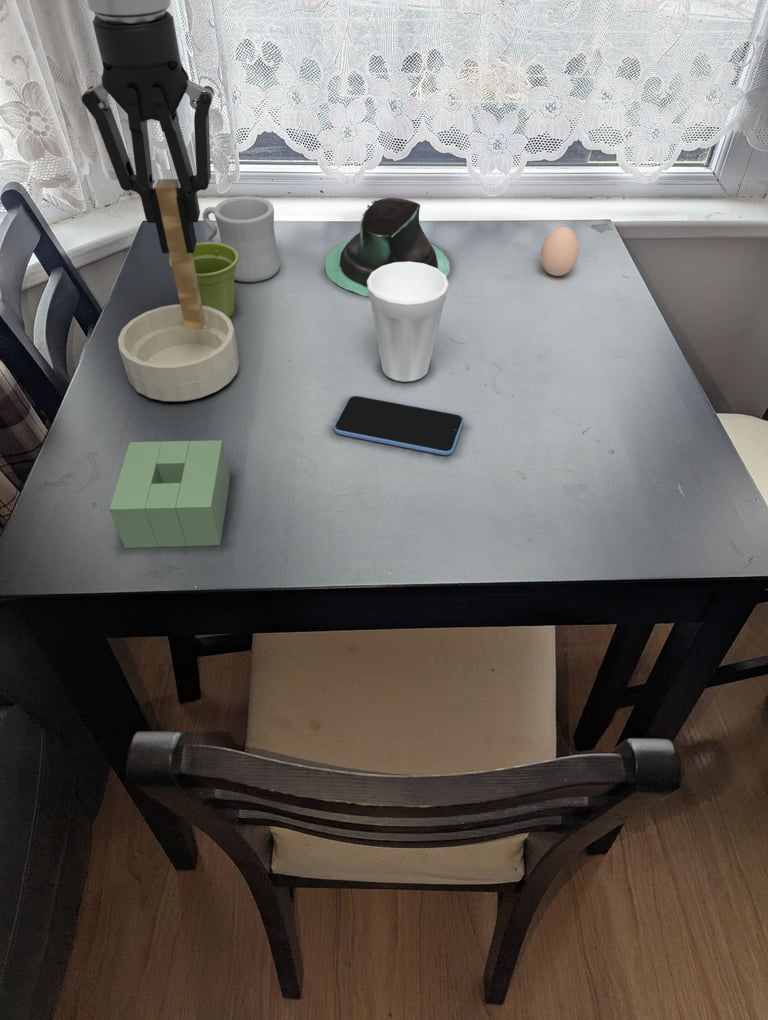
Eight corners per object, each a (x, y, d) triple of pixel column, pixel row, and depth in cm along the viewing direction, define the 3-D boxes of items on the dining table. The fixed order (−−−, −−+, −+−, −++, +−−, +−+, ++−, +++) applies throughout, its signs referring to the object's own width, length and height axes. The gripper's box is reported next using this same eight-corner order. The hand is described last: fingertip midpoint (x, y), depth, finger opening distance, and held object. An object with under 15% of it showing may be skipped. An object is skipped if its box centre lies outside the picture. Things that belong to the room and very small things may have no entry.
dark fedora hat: (447, 299, 109) (315, 296, 110) (448, 296, 126) (334, 293, 128) (453, 190, 104) (314, 188, 106) (453, 203, 122) (334, 201, 123)
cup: (364, 391, 95) (363, 301, 85) (371, 347, 102) (370, 259, 92) (441, 394, 94) (448, 304, 85) (442, 350, 101) (449, 262, 92)
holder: (124, 548, 76) (108, 509, 72) (142, 481, 83) (129, 441, 79) (220, 545, 77) (210, 506, 72) (230, 479, 84) (222, 439, 79)
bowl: (158, 421, 91) (147, 381, 86) (112, 365, 98) (100, 327, 94) (259, 379, 97) (253, 340, 92) (208, 330, 104) (201, 292, 100)
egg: (578, 282, 114) (588, 235, 109) (543, 284, 114) (551, 237, 108) (567, 263, 118) (577, 218, 112) (533, 266, 118) (540, 220, 112)
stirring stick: (185, 329, 93) (154, 187, 80) (188, 320, 95) (158, 179, 82) (202, 329, 93) (174, 187, 80) (205, 319, 95) (178, 178, 82)
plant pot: (210, 289, 112) (200, 235, 106) (258, 307, 109) (251, 252, 102) (167, 318, 107) (154, 262, 100) (217, 337, 103) (207, 281, 97)
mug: (291, 263, 118) (285, 201, 111) (262, 289, 112) (254, 226, 105) (225, 247, 121) (215, 187, 114) (194, 273, 116) (182, 211, 108)
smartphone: (350, 393, 93) (465, 414, 90) (350, 398, 94) (464, 420, 91) (331, 429, 88) (452, 452, 85) (331, 434, 89) (451, 458, 86)
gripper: (217, 3, 72) (247, 232, 89) (61, 2, 72) (121, 233, 89) (207, 23, 67) (241, 262, 84) (39, 22, 67) (107, 263, 84)
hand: (179, 247), depth 86 cm, fingers closed on stirring stick, 2 cm apart
